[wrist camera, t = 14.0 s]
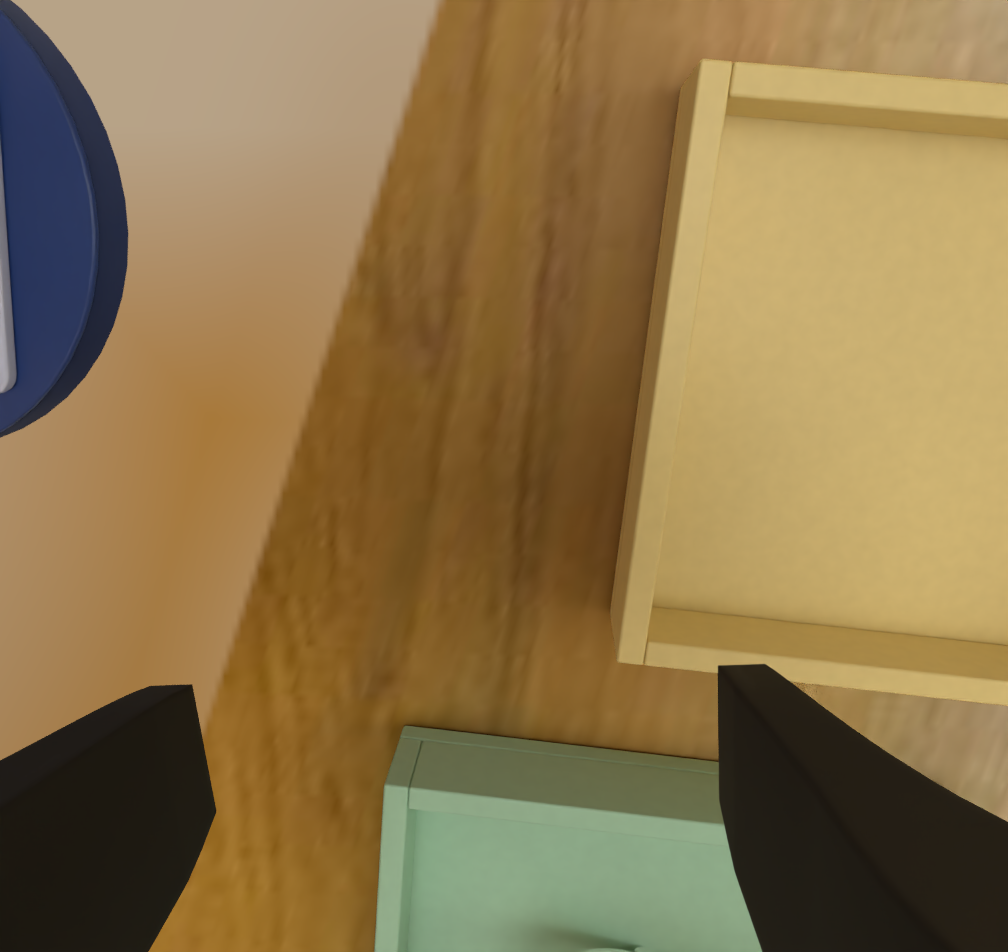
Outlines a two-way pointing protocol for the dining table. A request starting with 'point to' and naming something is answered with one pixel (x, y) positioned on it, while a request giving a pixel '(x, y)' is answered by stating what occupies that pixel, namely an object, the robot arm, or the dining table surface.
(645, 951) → the ring
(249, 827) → the dining table surface
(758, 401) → the yellow tray
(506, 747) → the green tray
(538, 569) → the dining table surface
